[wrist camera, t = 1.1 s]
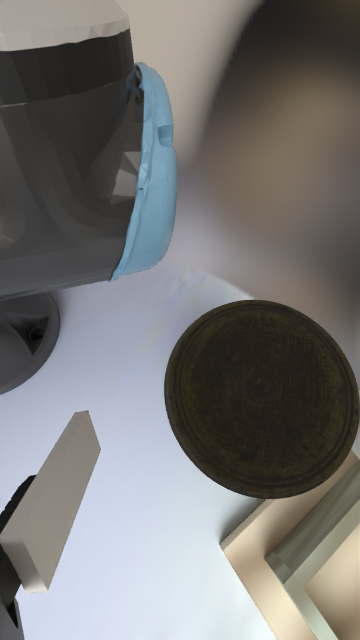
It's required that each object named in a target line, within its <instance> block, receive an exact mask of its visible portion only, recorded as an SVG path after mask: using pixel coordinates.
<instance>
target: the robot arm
mask: <svg viewBox="0 0 360 640" xmlns="http://www.w3.org/2000/svg"><path fill="white" fill-rule="evenodd" d="M130 35H131V34H130V27H129V19H128V15H127V14H126V13H125V11H124V10H123V9H122V7H121V6H120V5H119V4H118V2H117V1H116V0H0V395H1V394H3V393H6V392H8V391H10V390H12V389H14V388H16V387H18V386H19V385H21V384H22V383H24V382H25V381H26V380H28V379H29V378H30V377H31V376H33V375H34V374H35V373H36V372H37V371H38V370H39V369H40V368H41V366H42V365H43V364H44V363H45V361H46V360H47V359H48V357H49V355H50V354H51V352H52V350H53V348H54V346H55V343H56V340H57V337H58V332H59V313H58V309H57V306H56V304H55V302H54V300H53V298H52V297H51V296H50V294H49V293H48V292H49V291H54V290H59V289H65V288H70V287H75V286H80V285H85V284H90V283H95V282H100V281H105V280H106V281H108V282H110V281H113V280H116V279H118V278H119V277H120V276H123V275H127V274H131V273H135V272H139V271H143V270H147V269H149V268H151V267H153V266H154V265H156V264H157V263H158V262H159V261H161V259H162V258H163V257H164V255H165V253H166V251H167V249H168V247H169V244H170V241H171V237H172V232H173V227H174V221H175V210H176V196H177V194H176V193H177V160H176V151H175V150H174V149H173V146H172V142H173V118H172V111H171V104H170V100H169V96H168V92H167V89H166V86H165V83H164V81H163V79H162V78H161V77H160V75H159V74H158V73H157V72H156V70H154V69H152V68H150V67H148V66H147V65H146V64H145V63H143V62H139V63H135V66H134V59H133V51H132V43H131V36H130ZM358 392H359V401H360V390H359V389H358ZM100 450H101V448H100V445H99V442H98V439H97V436H96V433H95V430H94V427H93V424H92V421H91V418H90V415H89V412H88V410H87V411H81V412H76V413H74V415H73V417H72V418H71V420H70V422H69V423H68V425H67V427H66V428H65V430H64V431H63V433H62V435H61V436H60V438H59V440H58V441H57V443H56V444H55V446H54V448H53V449H52V451H51V453H50V454H49V456H48V458H47V459H46V461H45V462H44V464H43V466H42V467H41V469H40V471H39V472H38V474H37V475H33V476H29V477H28V478H27V479H26V480H25V481H24V482H23V483H22V484H21V485H20V486H19V487H18V489H17V490H16V492H15V493H14V495H13V496H12V498H11V501H9V502H8V504H7V505H6V507H5V510H4V511H3V512H2V513H1V515H0V640H24V634H23V629H22V623H21V618H20V612H19V607H18V602H17V600H16V598H15V595H16V593H17V591H18V589H19V587H20V584H22V586H23V588H24V590H25V592H26V593H27V594H31V593H38V592H45V591H48V589H49V586H50V584H51V581H52V578H53V576H54V573H55V570H56V568H57V565H58V562H59V560H60V557H61V554H62V552H63V549H64V546H65V544H66V541H67V538H68V536H69V533H70V530H71V528H72V525H73V522H74V520H75V517H76V514H77V512H78V509H79V506H80V504H81V501H82V498H83V496H84V493H85V490H86V488H87V485H88V482H89V480H90V477H91V474H92V472H93V469H94V466H95V464H96V461H97V458H98V456H99V453H100ZM351 450H352V451H353V452H354V453H355V454H356V455H357V457H358V458H359V459H360V419H359V426H358V431H357V435H356V438H355V441H354V443H353V446H352V448H351Z"/></svg>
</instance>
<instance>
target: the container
mask: <svg viewBox="0 0 360 640" xmlns="http://www.w3.org/2000/svg"><path fill="white" fill-rule="evenodd" d="M164 397H165V406H166V411H167V415H168V419H169V422H170V425H171V428H172V431H173V433H174V435H175V437H176V439H177V441H178V443H179V445H180V446H181V448H182V449H183V451H184V452H185V454H186V455H187V456H188V458H189V459H190V460H191V461H192V462H193V463H194V464H195V466H196V467H197V468H198V469H199V470H200V471H202V472H203V473H204V474H205V475H206V476H207V477H209V478H210V479H212V480H213V481H214V482H216V483H218V484H219V485H221V486H223V487H225V488H227V489H229V490H231V491H234V492H236V493H239V494H242V495H245V496H249V497H255V498H261V499H282V498H289V497H293V496H297V495H300V494H303V493H306V492H308V491H310V490H312V489H314V488H316V487H317V486H319V485H321V484H322V483H324V482H325V481H326V480H327V479H329V478H330V477H331V476H332V475H333V474H334V473H335V472H336V471H337V470H338V468H339V467H340V466H341V465H342V463H343V462H344V461H345V459H346V457H347V456H348V454H349V452H350V450H351V448H352V446H353V443H354V441H355V438H356V435H357V431H358V426H359V419H360V401H359V392H358V387H357V383H356V379H355V376H354V373H353V371H352V368H351V366H350V364H349V362H348V360H347V358H346V356H345V354H344V353H343V351H342V350H341V348H340V347H339V345H338V344H337V343H336V342H335V340H334V339H333V338H332V337H331V336H330V335H329V334H328V333H327V332H326V331H325V330H324V329H323V328H322V327H321V326H320V325H318V324H317V323H316V322H314V321H313V320H312V319H311V318H309V317H308V316H306V315H304V314H303V313H301V312H299V311H297V310H295V309H293V308H291V307H288V306H285V305H282V304H279V303H275V302H271V301H265V300H243V301H236V302H232V303H228V304H225V305H222V306H219V307H217V308H215V309H212V310H211V311H209V312H207V313H205V314H204V315H202V316H201V317H200V318H198V319H197V320H196V321H195V322H193V323H192V324H191V325H190V326H189V327H188V328H187V330H186V331H185V332H184V333H183V334H182V336H181V337H180V339H179V340H178V342H177V343H176V345H175V347H174V349H173V351H172V353H171V355H170V358H169V361H168V365H167V369H166V374H165V381H164Z"/></svg>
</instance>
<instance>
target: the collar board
mask: <svg viewBox="0 0 360 640" xmlns="http://www.w3.org/2000/svg"><path fill="white" fill-rule="evenodd" d="M219 545H220V547H221V549H222V551H223V553H224V554H225V556H226V558H227V559H228V561H229V562H230V564H231V566H232V567H233V569H234V571H235V572H236V574H237V575H238V577H239V579H240V580H241V582H242V583H243V585H244V587H245V588H246V590H247V592H248V593H249V595H250V596H251V598H252V600H253V601H254V603H255V605H256V606H257V608H258V609H259V611H260V613H261V614H262V616H263V617H264V619H265V621H266V622H267V624H268V626H269V627H270V629H271V630H272V632H273V634H274V635H275V637H276V638H277V640H360V459H359V458H358V457H357V455H356V454H355V453H354V452H353V451H352V450H350V452H349V454H348V456H347V457H346V459H345V461H344V462H343V463H342V465H341V466H340V467H339V468H338V470H337V471H336V472H335V473H334V474H333V475H332V476H331V477H330V478H329V479H327V480H326V481H325V482H324V483H322V484H321V485H319V486H317V487H316V488H314V489H312V490H310V491H308V492H306V493H303V494H300V495H297V496H293V497H289V498H282V499H265V500H264V501H263V502H262V503H261V504H260V505H259V506H258V507H257V508H256V509H255V510H254V511H253V512H252V513H251V514H250V515H249V516H248V517H247V518H246V519H245V520H244V521H243V522H242V523H241V524H240V525H239V526H238V527H237V528H236V529H235V530H234V531H233V532H231V533H230V534H229V535H228V536H227V537H226V538H225V539H224V540H223V541H222V542H221V543H220V544H219Z"/></svg>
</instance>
